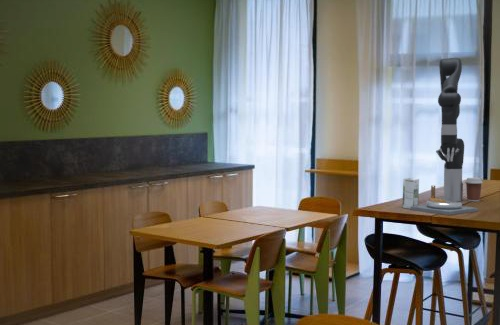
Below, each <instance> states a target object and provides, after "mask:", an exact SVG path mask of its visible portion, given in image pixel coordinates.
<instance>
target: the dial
mask: <svg viewBox="0 0 500 325" xmlns="http://www.w3.org/2000/svg"><path fill="white" fill-rule="evenodd" d="M426 205H427V207H430V208H439V209H458V208H462V206H463V202H462V201H446V200H444V199H441V198H436V185H434V184H433V185H431V186H430V198H429V200H427V201H426Z"/></svg>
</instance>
